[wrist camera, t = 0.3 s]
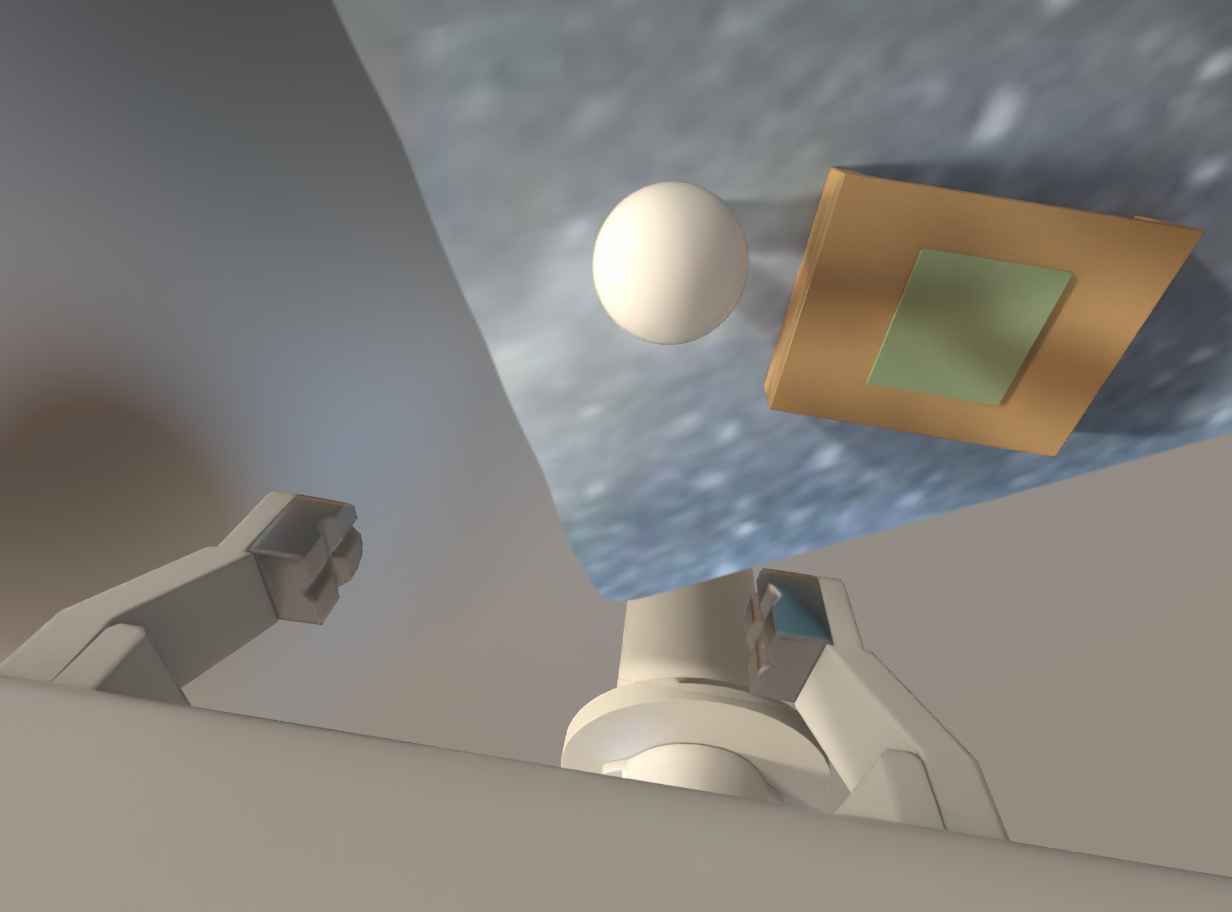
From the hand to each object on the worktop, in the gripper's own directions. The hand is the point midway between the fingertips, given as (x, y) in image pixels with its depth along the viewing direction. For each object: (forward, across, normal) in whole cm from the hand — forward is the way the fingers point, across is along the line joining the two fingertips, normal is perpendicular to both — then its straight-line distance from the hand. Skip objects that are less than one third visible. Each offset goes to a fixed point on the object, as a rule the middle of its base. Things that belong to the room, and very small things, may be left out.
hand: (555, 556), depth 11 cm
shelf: (+23, +17, -2) cm, 29 cm away
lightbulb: (+24, +2, +1) cm, 24 cm away
